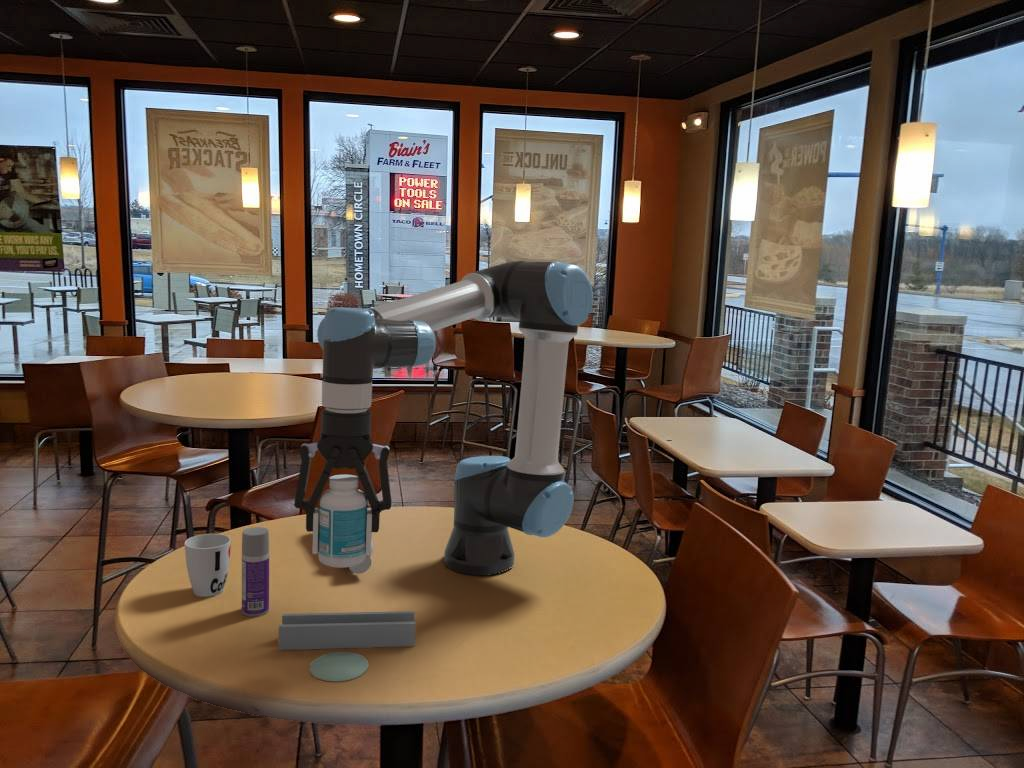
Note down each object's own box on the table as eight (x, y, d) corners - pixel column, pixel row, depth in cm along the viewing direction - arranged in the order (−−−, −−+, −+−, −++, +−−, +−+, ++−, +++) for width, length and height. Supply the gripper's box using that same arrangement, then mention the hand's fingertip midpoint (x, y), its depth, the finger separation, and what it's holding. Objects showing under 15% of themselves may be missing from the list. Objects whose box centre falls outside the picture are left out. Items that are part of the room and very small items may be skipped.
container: (274, 608, 144) (274, 529, 142) (258, 618, 139) (258, 537, 137) (252, 603, 145) (252, 525, 143) (236, 613, 141) (235, 533, 139)
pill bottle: (373, 556, 128) (376, 475, 126) (354, 572, 121) (357, 486, 119) (330, 550, 129) (333, 469, 128) (309, 565, 122) (311, 480, 120)
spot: (368, 652, 129) (368, 651, 129) (367, 680, 121) (367, 679, 121) (312, 653, 128) (312, 652, 128) (306, 682, 119) (306, 681, 119)
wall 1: (414, 643, 133) (415, 621, 132) (414, 646, 132) (415, 623, 132) (279, 647, 129) (279, 624, 129) (278, 650, 129) (278, 626, 128)
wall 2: (413, 632, 137) (414, 611, 136) (413, 635, 136) (414, 613, 135) (282, 636, 133) (282, 613, 133) (281, 638, 133) (282, 615, 132)
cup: (215, 602, 145) (215, 550, 143) (176, 597, 146) (175, 545, 145) (239, 585, 153) (239, 536, 151) (201, 580, 154) (201, 531, 153)
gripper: (412, 406, 127) (407, 543, 130) (282, 402, 124) (279, 542, 127) (413, 415, 119) (407, 560, 123) (274, 410, 117) (271, 559, 120)
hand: (342, 550), depth 125 cm, fingers closed on pill bottle, 7 cm apart
